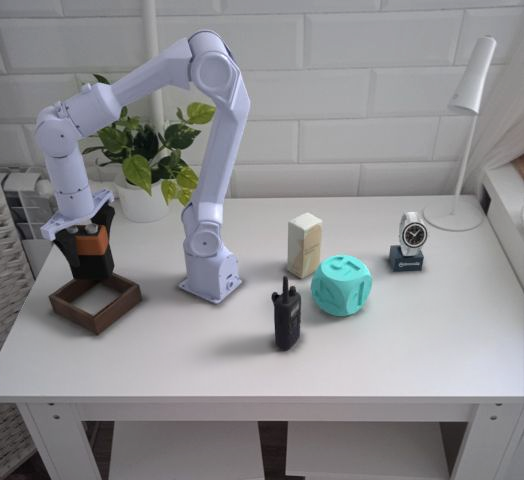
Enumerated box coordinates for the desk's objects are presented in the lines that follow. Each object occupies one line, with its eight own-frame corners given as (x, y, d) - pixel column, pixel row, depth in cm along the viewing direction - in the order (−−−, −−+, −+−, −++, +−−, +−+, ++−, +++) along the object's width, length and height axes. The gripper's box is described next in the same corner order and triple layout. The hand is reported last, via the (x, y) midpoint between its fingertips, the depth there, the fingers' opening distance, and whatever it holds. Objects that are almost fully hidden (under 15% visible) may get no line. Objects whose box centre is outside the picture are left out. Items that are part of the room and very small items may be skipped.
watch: (395, 278, 119) (402, 229, 111) (386, 253, 125) (393, 205, 117) (424, 276, 119) (433, 227, 111) (414, 251, 125) (423, 203, 117)
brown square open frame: (142, 300, 116) (139, 284, 114) (98, 335, 110) (93, 319, 107) (98, 279, 121) (94, 263, 118) (53, 312, 114) (47, 296, 112)
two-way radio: (287, 354, 105) (287, 284, 94) (265, 345, 107) (263, 275, 96) (303, 335, 108) (305, 265, 98) (281, 326, 110) (281, 257, 100)
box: (301, 279, 119) (302, 230, 112) (286, 269, 122) (286, 221, 114) (320, 268, 122) (323, 219, 114) (305, 258, 124) (307, 210, 116)
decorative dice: (344, 323, 110) (347, 287, 105) (309, 304, 114) (310, 269, 109) (370, 301, 114) (375, 265, 109) (335, 283, 118) (338, 248, 113)
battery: (110, 281, 111) (98, 234, 104) (73, 280, 111) (58, 233, 104) (115, 266, 114) (104, 219, 107) (79, 266, 114) (65, 219, 107)
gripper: (86, 160, 106) (102, 227, 115) (18, 198, 98) (42, 268, 107) (116, 170, 103) (130, 239, 112) (49, 211, 95) (71, 281, 104)
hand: (89, 254), depth 110 cm, fingers closed on battery, 6 cm apart
